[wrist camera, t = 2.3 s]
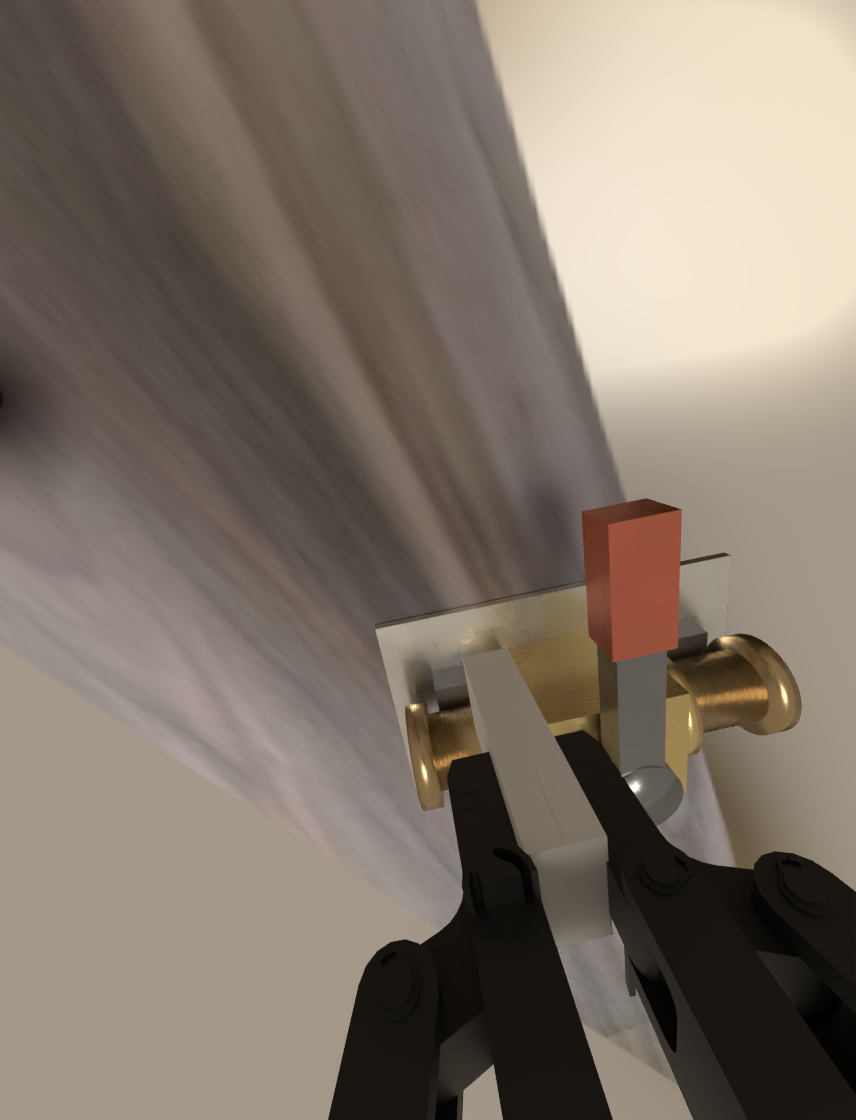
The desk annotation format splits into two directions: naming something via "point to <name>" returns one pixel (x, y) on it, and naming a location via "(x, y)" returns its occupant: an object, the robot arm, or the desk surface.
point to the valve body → (579, 672)
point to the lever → (635, 639)
